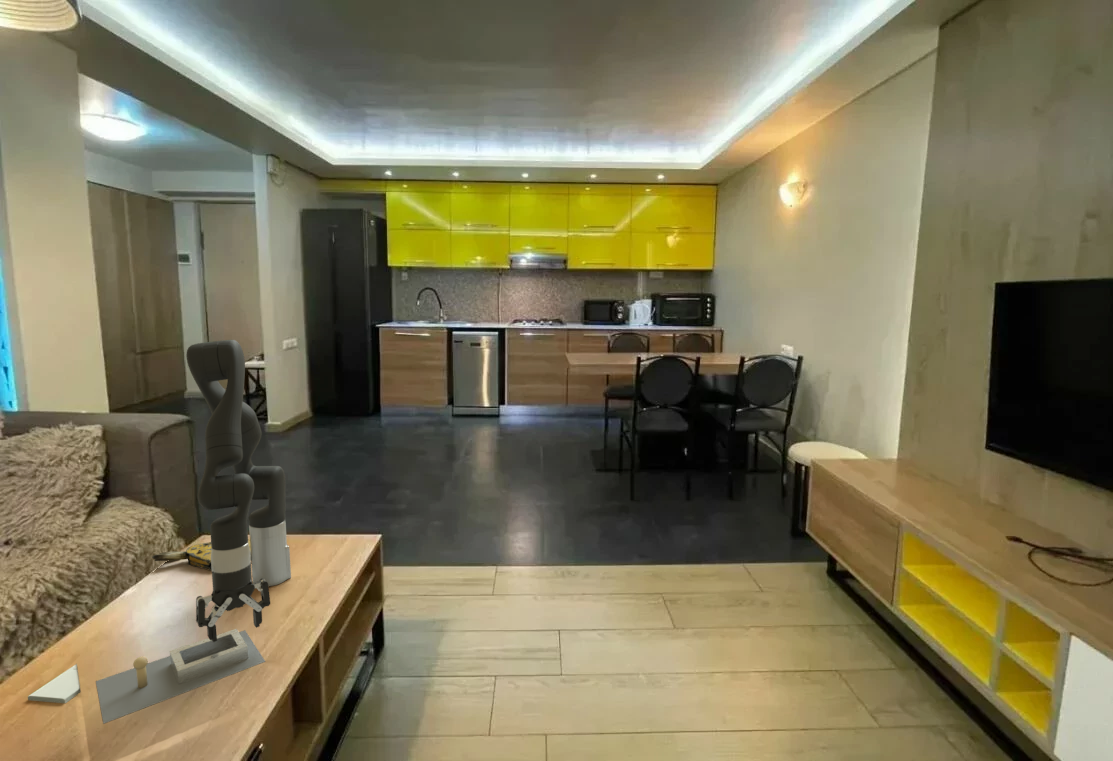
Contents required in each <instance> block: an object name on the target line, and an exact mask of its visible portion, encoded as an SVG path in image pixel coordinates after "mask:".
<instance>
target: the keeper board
mask: <svg viewBox="0 0 1113 761" xmlns="http://www.w3.org/2000/svg"><path fill="white" fill-rule="evenodd" d="M238 632H239V633H240V635H241V637H242V638H243V640H244V641H245V643H246V644H247V646H248V659H246V660H244V661H241V662H238V663H235V664H233V665H230V666H227V667H225V668H222V669H219V670H217V671H214V672H211V673H209V674H206V675H203V676H201V677H198V678H195V679H193V680H190V681H187V682H185V683H182V684H178V681H177V679H176V676H175V674H174V671H173V668H172V666H171V661H170V655H168V656H165V657H162V658H159V659H156V660H154V661H150V662H149V660H148V658H147V657H146V656H144V655H143V656H139V657H136V659H134V661H133V664H132V665H133V666H132V667H133V668H129V669H128V670H124V671H121V672H118V673H116V674H112V675H110V676H107V677H105V678H102V679H98V680H96V681H95V684H96V690H97V695H98V701H99V706H100V711H101V718H102V722H103V723H102V724H107V723H109V722H112V721H115V720H117V719H119V718H122V717H125V716H128V715H130V714H133V713H135V712H138V711H140V710H141V711H142V710H143V709H145V708H148V707H151V706H153V705H156V704H158V703H161V702H163V701H164V702H165V701H166V700H169V699H172V698H175V697H177V696H179V695H182V694H185V693H187V692H191V691H193V690H196V689H198V688H200V687H203V686H206V685H208V684H211V683H214V682H216V681H218V680H221V679H224V678H226V677H229V676H232V675H234V674H236V673H237V674H238V673H240V672H243V671H244V670H247V669H249V668H252V667H255V666H257V665H260V664H263V663H265V662H266V660H265V659H264V657H263V656H262V654H261V652H260V651H259V649H258V648H257V646H256V644H255V643H254V641H253V640H252V638H251V637H250V635H249V634H248V632H247V631H246V630H245V629H244V630H241V631H238ZM230 648H233V647H232V646H231V647H228V648H225V649H222V650H219V651H217V652H214V653H211V654H208V655H205V656H202V657H200V658H197V659H194V660H191V661H188V662H186V663H184V664H188V663H191V662H194V661H197V660H199V659H202V658H205V657H208V656H211V655H213V654H216V653H219V652H222V651H225V650H227V649H230Z"/></svg>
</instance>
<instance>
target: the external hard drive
mask: <svg viewBox="0 0 1113 761" xmlns="http://www.w3.org/2000/svg"><path fill="white" fill-rule="evenodd" d="M80 693H82V690H81V683H80V675H79V670H78V663H75V664H74V665H73V666H71V667H70V668H68V669H66V670H65V671H64V672H62V673H61V674H59V675H57V676H56V677H55V678H53V679H52V680H50V681H49V682H47V683H45V684H44V685H43V686H41V687H40V688H38V689H37V690H35V691H34V692H32V693H31V694H29V695H28V696H27V700H28V701H33V702H34V701H35V702H46V703H55V704H66V703H68V702H70V701H71V700H72V699H74V698H75V697H76V696H78V694H80Z"/></svg>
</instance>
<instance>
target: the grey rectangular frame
mask: <svg viewBox="0 0 1113 761" xmlns="http://www.w3.org/2000/svg"><path fill="white" fill-rule="evenodd" d="M239 632H240V631H239V630H238V628H235V629H231V630H227V631H225V632H223V633H220V634H217V641H215V642H213V641H212V640H210V639H209V637H208V638H204V639H201V640H198V641H196V642H192V643H189V644H187V645H184V646H181V647H178V648H175V649H172V650H169V656H170V661H171V666H172V668H173V671H174V674H175V676H176V679H177V681H178V684H182V683H185V682H187V681H190V680H193V679H195V678H198V677H201V676H203V675H206V674H209V673H211V672H214V671H217V670H219V669H222V668H225V667H227V666H230V665H233V664H235V663H238V662H241V661H244V660H246V659H248V646H247V644H246V643H245V641H244V640H243V638H242V637H241V635H240V633H239ZM231 646H232V647H233V648H230V649H227V650H225V651H222V652H219V653H216V654H213V655H211V656H208V657H205V658H202V659H199V660H197V661H194V662H191V663H188V664H184V663H186V662H188V661H191V660H194V659H197V658H200V657H202V656H205V655H208V654H211V653H214V652H217V651H219V650H222V649H225V648H228V647H231Z"/></svg>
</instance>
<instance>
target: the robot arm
mask: <svg viewBox="0 0 1113 761" xmlns="http://www.w3.org/2000/svg"><path fill="white" fill-rule="evenodd" d="M244 355H245V353H244V350H243V348H242V346H241V344H240V343H239V342H238V341H237V340H236V339H225V340H223V339H222V340H216V341H207V342H200V343H194V344H191V345H190V346H189V347H188V348H187V349H186V355H185V356H186V361H187V366H188V369H189V371H190V374H191V376H192V377H193V379H194V382H195V384H196V385H197V387H198V389H199V391H200V392H201V395H202V396H203V397H204V400H205V402H206V404H207V406H208V408H209V411H210V413H211V416H210V417H209V419H208V422H207V424H206V428H205V431H204V432H205V434H204V435H205V436H204V437H205V438H204V439H205V464H204V469H203V470H204V471H203V474H202V477H201V479H200V483H199V486H198V491H197V500H198V503H199V505H200V506H201V508H202V509H204V510H206V511H214V510H215V511H216V510H220V509H228V508H234V507H235V509H234V510H233V511H232V512H231V513H229V514H226V515H223V516H220V517H218V518H216V519H214V520H213V521H212V522H211V523H210V526H209V529H210V530H209V531H210V542H211V547H212V548H211V568H212V570H211V579H212V581H211V582H212V593H210V594H211V595H206V596H203V595H198V596H197V597H196V599H195V607H196V608H195V621H196V623H197V626H198V627H199V628H203V627H206V631H207V632H206V633H207V637H208V638H209V639H210V640H212V641H213V642H215V641H217V635H218V634H217V625H216V623H217V621H218V620H219V618H222V615H223V614H224V612H225V611H226V612H230V611H233V610H234V609H238V608H239V609H240V608H243V607H244V605H247V606H249V607H250V608H252V618H253V625H254V628H256V629H257V628H259V627H260V625H261V624H263V613H262V612H263V609H264V608H266V607H269V606H270V605H271V596H270V590H269V589H270V588H269V587H273V586H277V585H279V584H282V583H284V582H285V581H287V580H289V579H291V578H292V572H291V568H292V567H291V553H290V552H291V551H290V546H289V545H288V543H287V542H288V541H287V523H286V509H287V506H286V504H287V503H286V473H285V470H284V469H283V467H282V466H279V465H257V466H256V465H254V464H253V461H252V456H253V454H254V452H255V451H256V449H257V447H258V445H259V443H260V440H261V439H262V435H263V434H262V433H263V432H262V428H261V425H260V423H259V419H258V416H257V413H256V412H255V410H254V409H253V408H252V407H251V406H250V405H249V404H248V403H246V402H244V392H245V391H244V390H245V377H246V376H245V375H246V360H245V356H244ZM226 380H227V382H226V388H224V387H223V385H222V384H221V383H220V382H219V381H226ZM230 467H232V468H233V472H234V473H233V474H225V475H223V474H222V475H218V474H219V473H220V472H221V471H223V470H225V469H226V468H227V469H228V468H230ZM254 500H257V501H260V500H265V501H267V500H268V505H265V506H262V507H260V508H258V509H255V510H253V511H251V513H250V509H251V508H250V507H251V505H252V501H254ZM248 530H249V531H248ZM248 534H249V536H248ZM248 539H250V548H251V555H250V548H249V544H248ZM255 589H257V590H258V592H260V598H261V600H259V601H257V600H255V599H254V598H253V597H252V594H253V592H254V591H255ZM210 602H212V603H214V605H213V607H212V608H211V611H210V613H209V614H208V615H207V617H206V608H208V606H209V604H210Z"/></svg>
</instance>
